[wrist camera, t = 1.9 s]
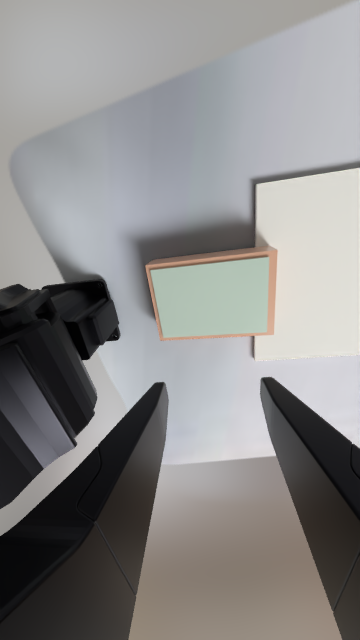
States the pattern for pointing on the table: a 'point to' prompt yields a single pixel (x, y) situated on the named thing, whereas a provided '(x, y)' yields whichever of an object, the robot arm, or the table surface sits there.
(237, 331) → the tile
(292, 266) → the mat
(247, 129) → the table surface
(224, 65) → the table surface
